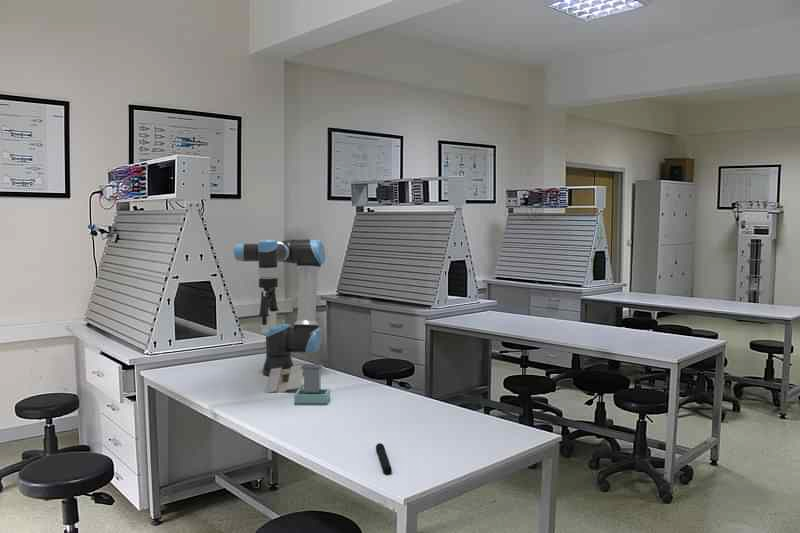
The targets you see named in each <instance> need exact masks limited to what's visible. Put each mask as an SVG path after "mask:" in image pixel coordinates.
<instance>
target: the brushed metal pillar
mask: <svg viewBox="0 0 800 533" xmlns="http://www.w3.org/2000/svg"><path fill="white" fill-rule="evenodd" d="M301 365H302V366H301V369H303V389H304V394H321V389H322V388H321V386H322V385H321V370H322V369H323V367H324V365H323V364H322V363H320V364H319V363H317V364H316V363H315V364H314V363H312V364H311V363H308V364H307V363H306V364H304V363H303V364H301Z"/></svg>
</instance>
